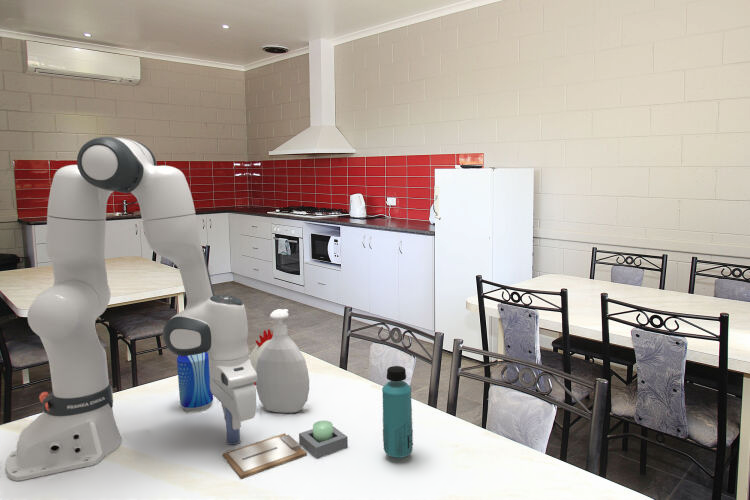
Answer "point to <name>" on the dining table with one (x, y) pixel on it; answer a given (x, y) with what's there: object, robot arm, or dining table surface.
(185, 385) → the beer can
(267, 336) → the kitchen timer
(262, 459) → the clipboard
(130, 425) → the dining table surface
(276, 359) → the soap bottle
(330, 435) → the button
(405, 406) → the beverage bottle
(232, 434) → the marker
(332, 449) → the button housing
